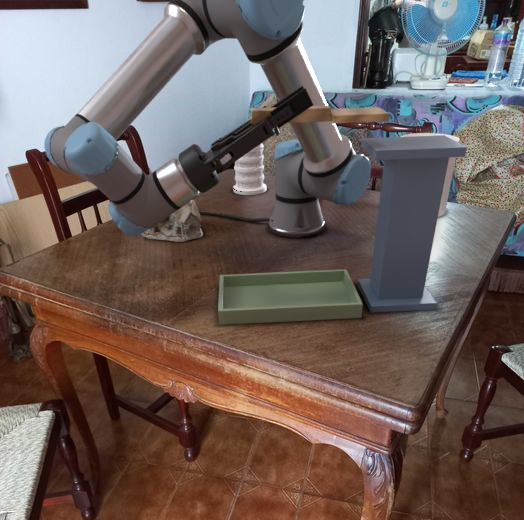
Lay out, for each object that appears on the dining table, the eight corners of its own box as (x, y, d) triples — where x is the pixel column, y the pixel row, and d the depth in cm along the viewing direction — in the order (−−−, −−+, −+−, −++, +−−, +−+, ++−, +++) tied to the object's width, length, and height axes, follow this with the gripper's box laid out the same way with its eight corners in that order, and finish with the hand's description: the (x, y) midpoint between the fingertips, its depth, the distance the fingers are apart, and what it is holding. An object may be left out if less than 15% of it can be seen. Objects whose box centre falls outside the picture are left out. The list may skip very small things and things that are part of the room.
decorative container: (270, 193, 160) (269, 135, 150) (237, 196, 158) (234, 138, 147) (261, 184, 169) (260, 129, 159) (230, 187, 167) (226, 132, 157)
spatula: (252, 126, 75) (251, 112, 74) (250, 119, 81) (250, 106, 79) (388, 121, 76) (390, 107, 74) (377, 114, 81) (378, 101, 80)
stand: (360, 313, 93) (377, 152, 76) (348, 285, 103) (361, 137, 86) (435, 309, 93) (469, 148, 76) (416, 282, 103) (442, 134, 86)
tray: (219, 325, 90) (217, 311, 89) (220, 287, 103) (219, 274, 102) (361, 318, 91) (362, 304, 90) (345, 281, 104) (346, 269, 102)
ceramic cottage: (137, 228, 135) (130, 174, 126) (192, 221, 140) (189, 169, 131) (149, 250, 123) (142, 193, 114) (208, 242, 129) (206, 187, 120)
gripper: (204, 181, 90) (311, 109, 84) (199, 208, 77) (326, 125, 71) (180, 146, 87) (291, 68, 81) (171, 167, 73) (302, 76, 67)
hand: (307, 95), depth 76 cm, fingers closed on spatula, 3 cm apart
